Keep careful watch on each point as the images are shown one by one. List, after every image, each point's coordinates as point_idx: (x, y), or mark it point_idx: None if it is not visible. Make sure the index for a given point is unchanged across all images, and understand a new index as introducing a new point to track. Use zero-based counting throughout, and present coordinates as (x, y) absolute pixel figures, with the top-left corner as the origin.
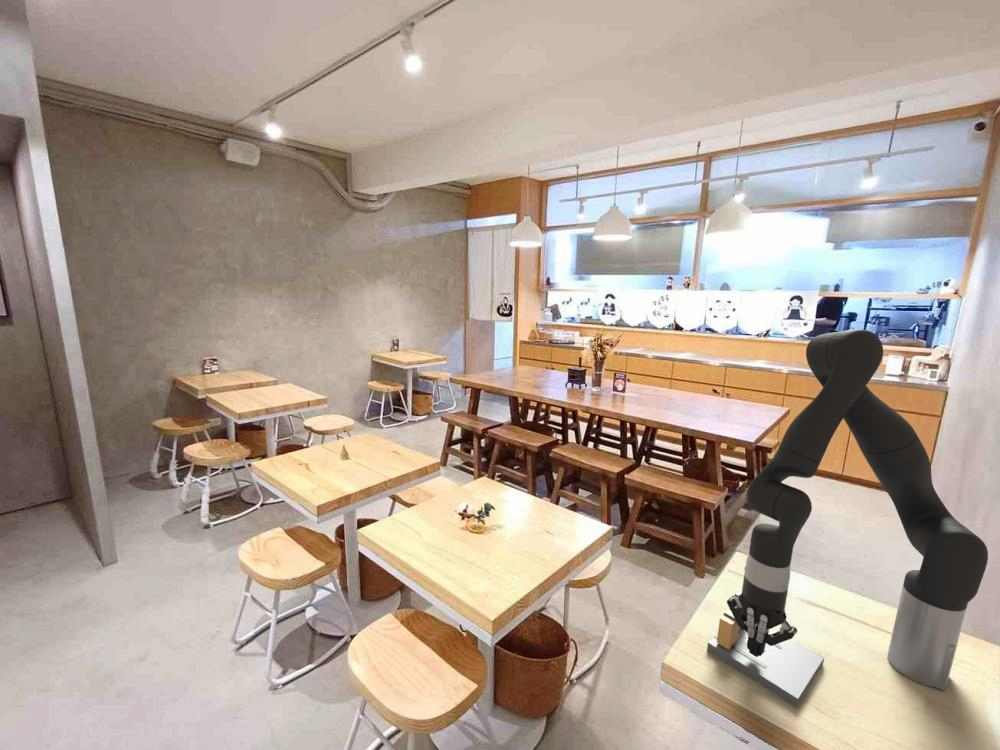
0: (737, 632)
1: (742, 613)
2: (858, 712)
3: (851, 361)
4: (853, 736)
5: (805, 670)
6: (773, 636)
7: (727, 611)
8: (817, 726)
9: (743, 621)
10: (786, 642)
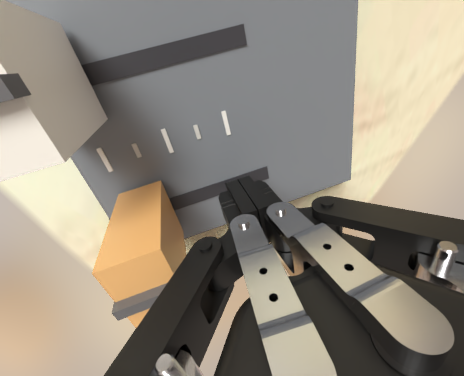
0: (164, 206)
1: (201, 313)
2: (429, 35)
3: None
4: (420, 121)
5: (336, 64)
6: (337, 228)
7: (105, 285)
8: (370, 167)
9: (210, 280)
10: None
